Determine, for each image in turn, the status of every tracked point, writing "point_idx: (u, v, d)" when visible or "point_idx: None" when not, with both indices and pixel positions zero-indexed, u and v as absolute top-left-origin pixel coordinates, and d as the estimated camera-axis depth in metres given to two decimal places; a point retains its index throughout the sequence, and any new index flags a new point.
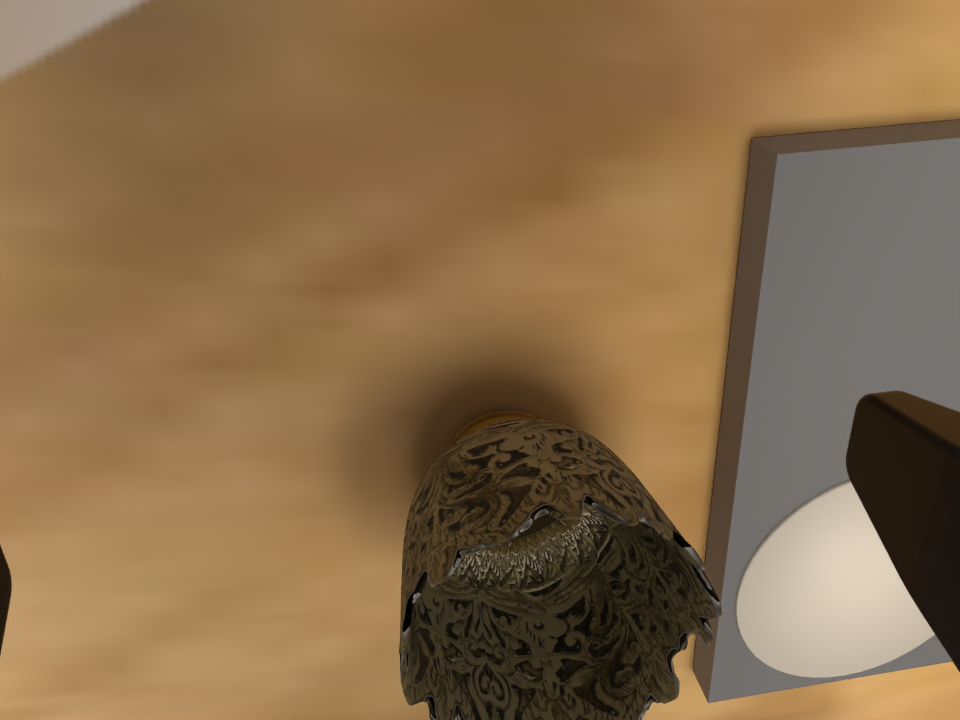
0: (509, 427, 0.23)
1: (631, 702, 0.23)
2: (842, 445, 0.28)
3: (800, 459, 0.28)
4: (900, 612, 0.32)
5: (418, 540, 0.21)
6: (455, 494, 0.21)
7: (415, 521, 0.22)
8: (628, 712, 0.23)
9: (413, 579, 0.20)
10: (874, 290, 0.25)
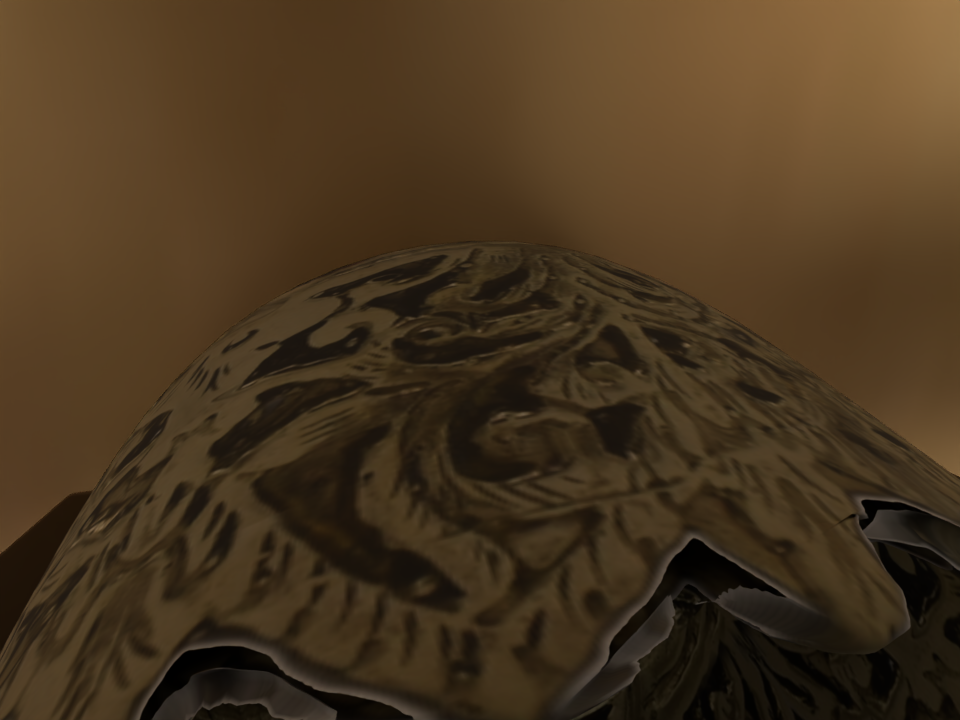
0: None
1: None
2: None
3: None
4: None
5: None
6: None
7: None
8: None
9: None
10: None
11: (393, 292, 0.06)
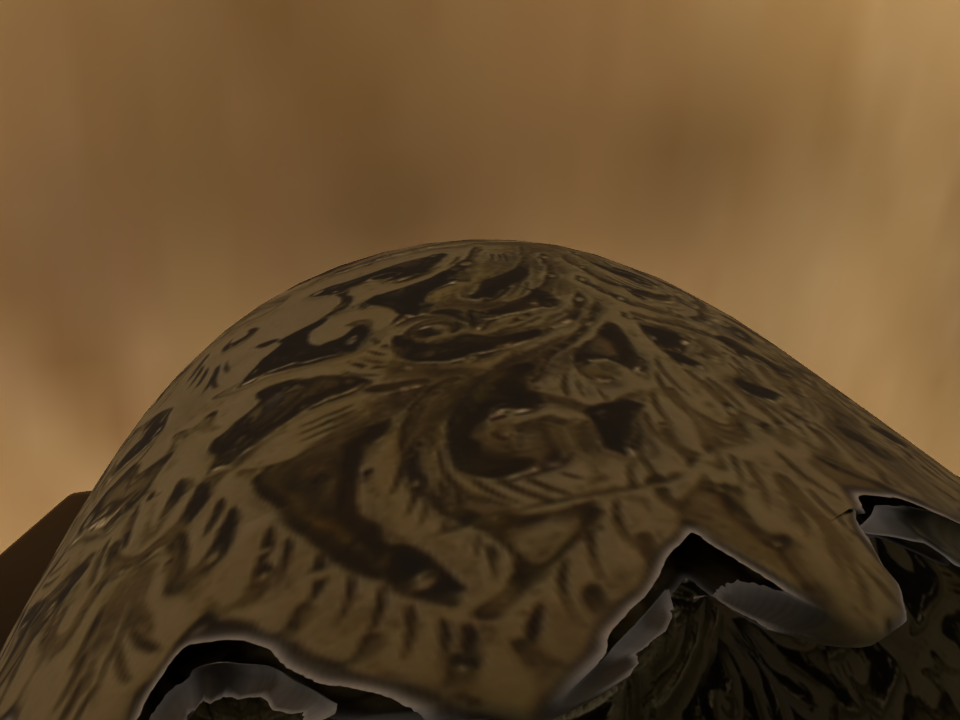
0: None
1: None
2: None
3: None
4: None
5: None
6: None
7: None
8: None
9: None
10: None
11: (393, 291, 0.06)
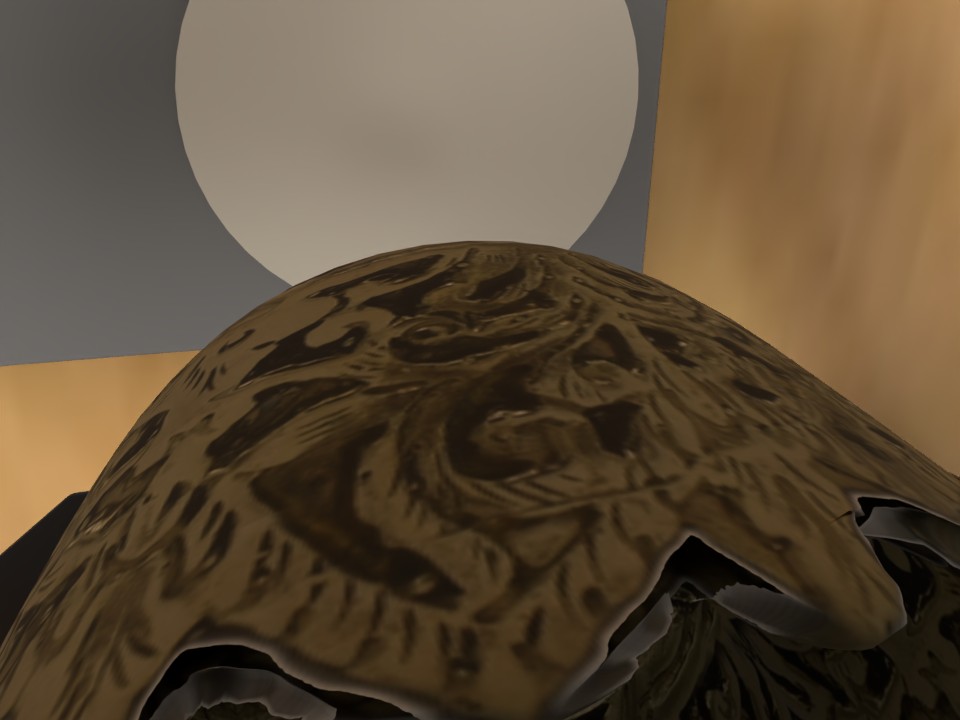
0: None
1: None
2: (131, 206, 0.18)
3: (159, 266, 0.19)
4: (506, 17, 0.17)
5: None
6: None
7: None
8: None
9: None
10: None
11: (390, 292, 0.06)
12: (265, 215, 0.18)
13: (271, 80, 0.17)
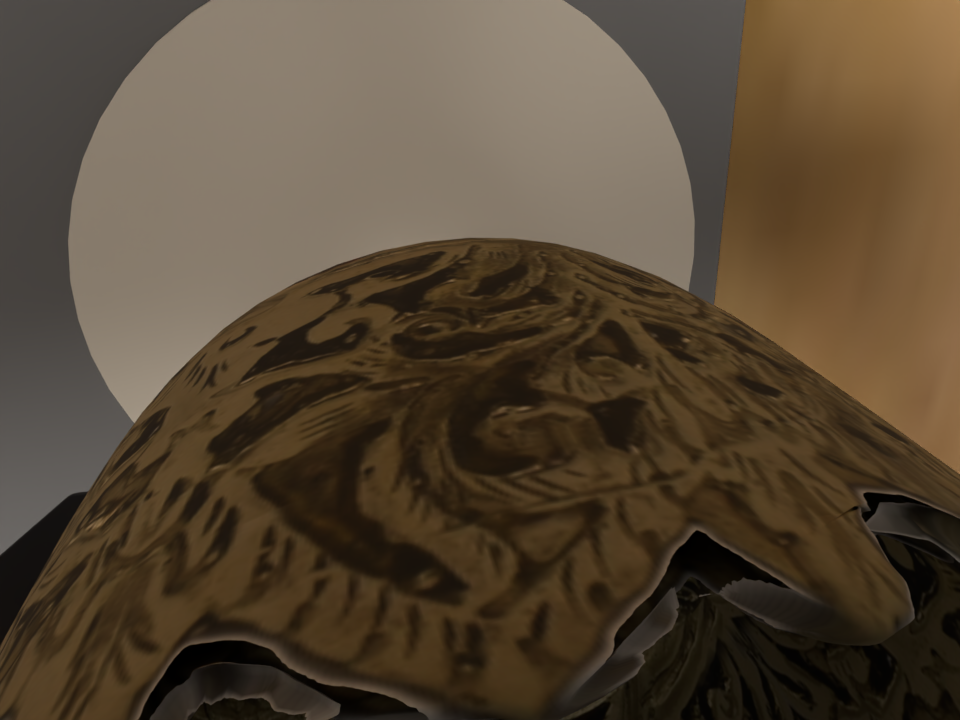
0: None
1: None
2: (26, 423, 0.14)
3: (70, 490, 0.14)
4: (517, 166, 0.13)
5: None
6: None
7: None
8: None
9: None
10: None
11: (393, 290, 0.06)
12: None
13: (201, 263, 0.13)
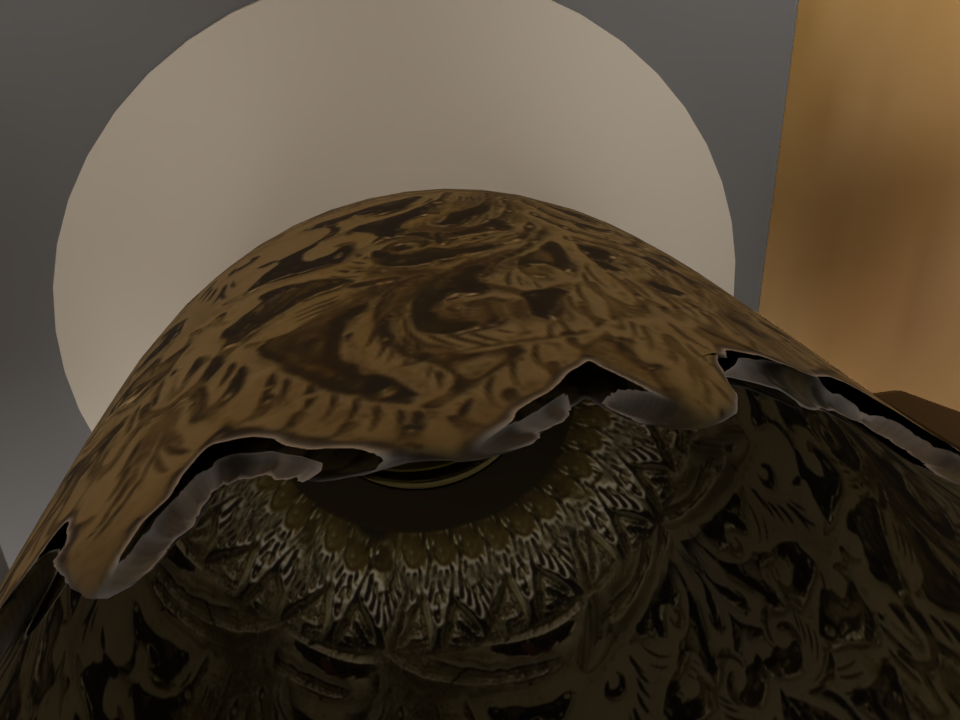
0: None
1: None
2: (9, 481, 0.12)
3: None
4: None
5: None
6: None
7: None
8: None
9: None
10: None
11: (374, 222, 0.07)
12: None
13: None
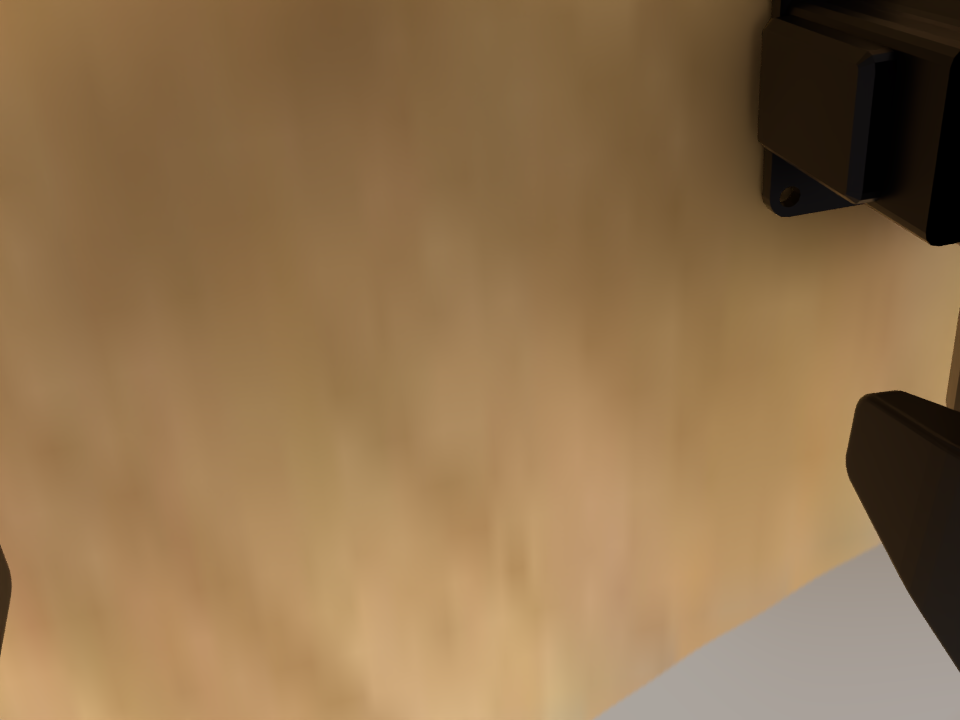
0: None
1: None
2: None
3: None
4: None
5: None
6: None
7: None
8: None
9: None
10: None
11: None
12: None
13: None
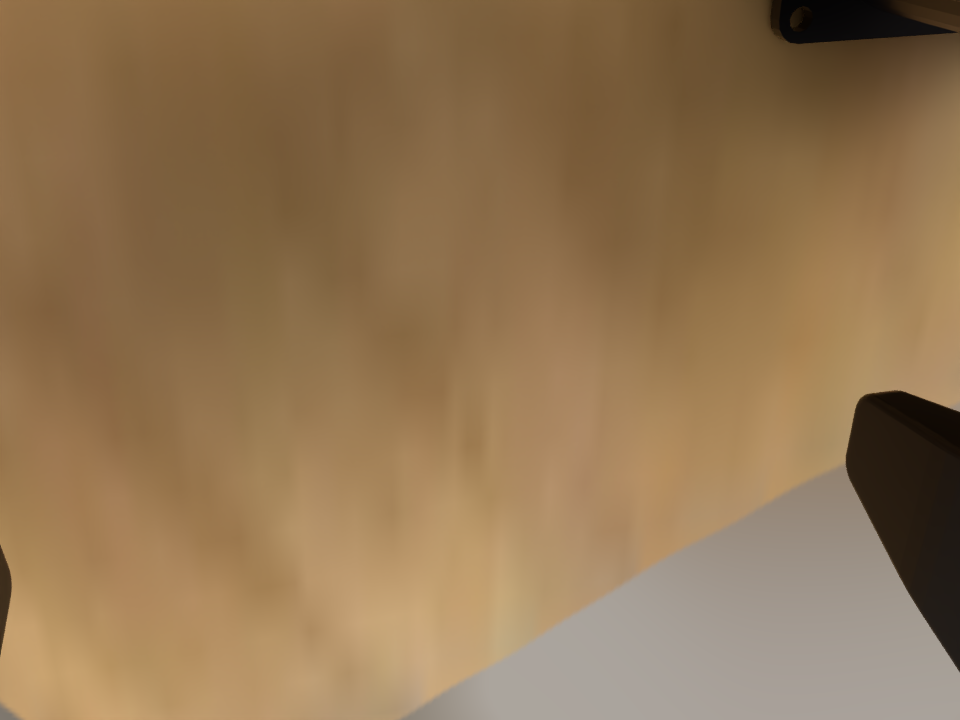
0: None
1: None
2: None
3: None
4: None
5: None
6: None
7: None
8: None
9: None
10: None
11: None
12: None
13: None
